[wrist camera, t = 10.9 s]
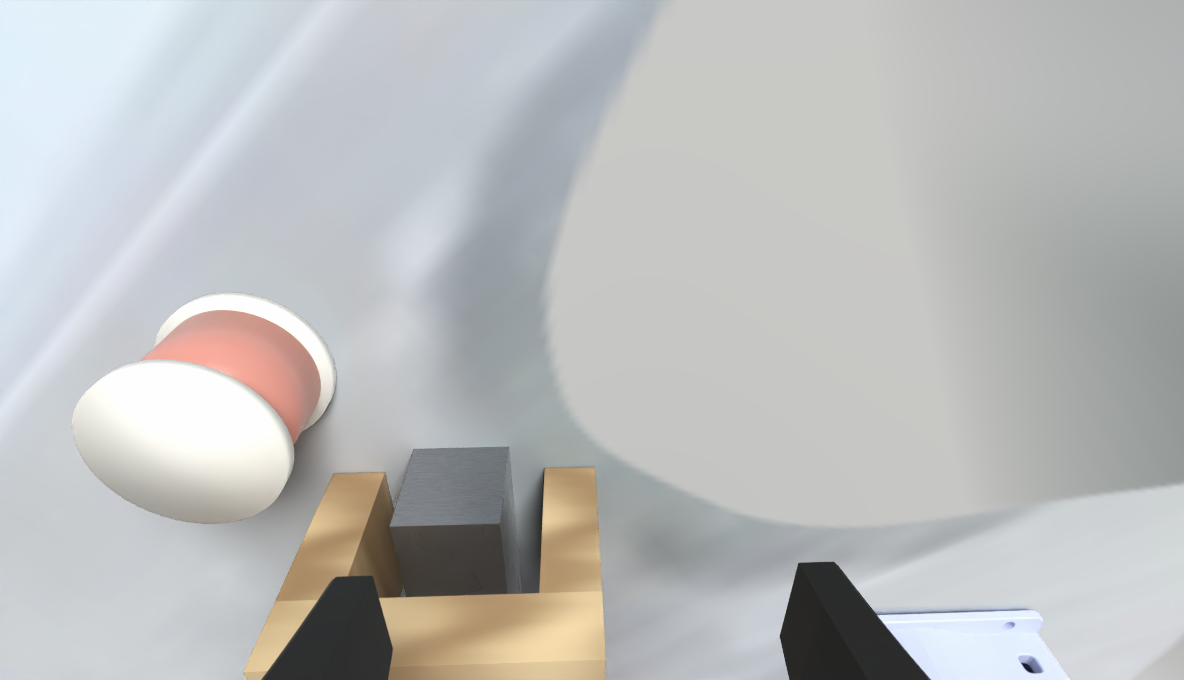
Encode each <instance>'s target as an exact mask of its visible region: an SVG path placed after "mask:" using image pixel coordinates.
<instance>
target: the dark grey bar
mask: <svg viewBox="0 0 1184 680" xmlns="http://www.w3.org/2000/svg"><path fill="white" fill-rule="evenodd" d="M390 531H391V535H392V539H393V543H394V547H395V551H396V555H397V559H398V564H399V568H400V572H401V576H402V580H403V584H404V588H405V592H406V596H407V597H430V596H462V595H495V594H523V593H522V583H521V572H520V561H519V550H518V540H517V529H516V518H515V507H514V497H513V486H512V475H511V464H510V454H509V447H478V448H437V449H414V450H413V453H412V456H411V459H410V463H409V466H408V469H407V472H406V475H405V479H404V482H403V485H402V488H401V491H400V495H399V498H398V501H397V504H396V507H395V511H394V514H393V517H392V520H391V523H390Z"/></svg>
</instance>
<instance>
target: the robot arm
mask: <svg viewBox="0 0 1184 680" xmlns="http://www.w3.org/2000/svg"><path fill="white" fill-rule="evenodd" d="M1042 624H1043V619H1042V617H1041V616H1040V615H1039V613H1038V612H1036V611H1034V610H1018V611H987V612H956V613H925V614H894V615H877V614H876V613H875V612H874V611H873V609H872V608H871V607H870V606H869V604H868V603H867V602H866V601H865V599H864V598H863V597H862V595H861V594H860V593H859V592H858V590H857V589H856V588H855V587H854V585H853V584H852V583H851V581H850V580H849V579H848V578H847V576H846V575H845V574H844V572H843V571H842V570H841V569H840V567H839V566H838V565H837V564H836V563H835V562H811V563H798V567H797V571H796V575H795V579H794V583H793V587H792V591H791V594H790V598H789V602H788V606H787V610H786V614H785V618H784V622H783V626H782V630H781V633H780V639H781V644H782V648H783V653H784V657H785V662H786V666H787V671H788V675H789V679H790V680H1070V679H1069V677H1068V676H1067V674H1066V673H1065V671H1064V670H1063V669H1062V667H1061V666H1060V664H1059V663H1058V661H1057V660H1056V659H1055V657H1054V656H1053V654H1052V653H1051V652H1050V650H1049V649H1048V647H1047V646H1046V644H1045V643H1044V642H1043V640H1042V639H1041V637H1040V636H1039V634H1038V631H1039V629H1040V628H1041V626H1042ZM392 653H393V647H392V643H391V640H390V636H389V632H388V629H387V625H386V622H385V618H384V614H383V611H382V607H381V604H380V600H379V597H378V593H377V589H376V586H375V582H374V579H373V576H341V577H335V578H334V579H333V580H332V581H331V582H330V583H329V585H328V586H327V587H326V589H325V590H324V592H323V593H322V595H321V596H320V598H319V599H318V601H317V602H316V604H315V605H314V607H313V608H312V609H311V611H310V612H309V614H308V615H307V617H306V618H305V620H304V621H303V623H302V624H301V625H300V627H299V628H298V630H297V631H296V632H295V634H294V635H293V637H292V638H291V640H290V641H289V642H288V644H287V645H286V646H285V648H284V649H283V651H282V652H281V653H280V655H279V656H278V658H277V659H276V660H275V662H274V663H273V665H272V666H271V667H270V669H269V670H268V671H267V673H266V674H265V675H264V677H263V678H262V679H261V680H388V677H389V671H390V665H391V659H392Z"/></svg>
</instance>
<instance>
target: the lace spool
mask: <svg viewBox="0 0 1184 680" xmlns="http://www.w3.org/2000/svg"><path fill="white" fill-rule="evenodd" d="M335 386H336V369H335V363H334V360H333V358H332V355H331V353H330V351H329V349H328V347H327V345H326V343H325V342H324V340H323V339H322V337H321V336H320V335H319V334H318V333H317V332H316V330H315V329H314V328H313V327H312V326H311V325H310V324H309V323H307V322H306V321H305V320H304V319H303V318H301V317H300V316H299V315H297V314H296V313H294V312H293V311H291V310H289V309H288V308H286V307H284V306H282V305H280V304H278V303H276V302H274V301H271V300H268V299H265V298H263V297H259V296H255V295H251V294H245V293H236V292H222V293H213V294H208V295H204V296H201V297H198V298H195V299H193V300H191V301H189V302H188V303H186V304H184V305H183V306H182V307H181V308H179V309H178V310H177V311H176V312H175V313H174V314H172V315H171V316H170V317H169V318H168V319H167V320H166V321H165V323H164V324H163V325H162V327H161V328H160V330H159V332H158V334H157V337H156V340H155V345H154V348H153V349H152V350H151V351H150V352H149V353H148V354H147V355H146V356H145V357H144V358H143V359H142V360H140V361H138V362H132V363H129V364H126V365H123V366H120V367H118V368H116V369H114V370H112V371H110V372H109V373H108V374H106V375H105V376H104V377H102V378H101V379H100V380H99V381H98V382H97V383H95V384H94V385H93V386H92V387H91V388H90V389H89V390H88V391H87V392H86V393H85V394H84V395H83V396H82V397H81V398H80V400H79V402H78V404H77V405H76V407H75V411H74V414H73V419H72V432H73V438H74V441H75V444H76V447H77V449H78V451H79V454H80V456H81V457H82V459H83V460H84V462H85V463H86V465H87V466H88V468H89V469H90V470H91V471H92V472H93V474H94V475H95V476H96V477H97V478H98V479H99V480H100V481H101V482H102V483H103V484H105V485H106V486H107V487H108V488H110V489H111V490H112V491H113V492H115V493H116V494H118V495H119V496H121V497H122V498H124V499H125V500H127V501H129V502H131V503H133V504H135V505H136V506H138V507H141V508H143V509H145V510H147V511H150V512H152V513H155V514H158V515H161V516H164V517H168V518H171V519H175V520H180V521H185V522H192V523H202V524H218V523H228V522H234V521H239V520H242V519H246V518H249V517H251V516H254V515H256V514H258V513H260V512H261V511H263V510H265V509H266V508H267V507H269V506H270V505H271V504H272V503H273V502H274V501H275V500H276V499H277V498H278V496H279V495H280V493H281V491H282V490H283V488H284V486H285V484H286V482H287V480H288V478H289V477H290V475H291V472H292V469H293V465H294V447H293V446H294V444H295V442H296V440H297V439H298V437H299V435H300V433H301V432H302V431H304V430H305V429H307V428H309V427H310V426H312V425H313V424H314V423H315V422H316V421H317V420H318V419H319V418H320V417H321V416H322V415H323V413H324V411H325V410H326V408H327V406H328V404H329V402H330V400H331V399H332V397H333V394H334V391H335Z"/></svg>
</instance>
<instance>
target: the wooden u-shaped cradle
mask: <svg viewBox="0 0 1184 680" xmlns="http://www.w3.org/2000/svg"><path fill="white" fill-rule="evenodd" d="M393 514H394V510H393V506H392V501H391V497H390V493H389V488H388V484H387V480H386V476H385V472H379V473H339V474H333V476H332V478H331V480H330V482H329V484H328V487H327V489H326V491H325V493H324V495H323V497H322V500H321V502H320V504H319V506H318V508H317V511H316V513H315V515H314V517H313V519H312V522H311V524H310V526H309V528H308V530H307V533H306V535H305V537H304V539H303V541H302V544H301V546H300V548H299V550H298V552H297V555H296V557H295V559H294V561H293V563H292V566H291V568H290V570H289V572H288V574H287V577H286V579H285V581H284V583H283V585H282V588H281V590H280V592H279V594H278V596H277V599H276V601H275V603H274V605H273V607H272V609H271V612H270V614H269V616H268V618H267V620H266V623H265V625H264V627H263V629H262V631H261V634H260V636H259V638H258V640H257V642H256V645H255V647H254V649H253V651H252V653H251V656H250V658H249V660H248V662H247V664H246V667H245V669H244V671H243V673H244V675H245V677H246V679H247V680H261V679H262V678H263V677H264V675H265V674H266V673H267V671H268V670H269V669H270V667H271V666H272V665H273V663H274V662H275V660H276V659H277V658H278V656H279V655H280V653H281V652H282V651H283V649H284V648H285V646H286V645H287V644H288V642H289V641H290V640H291V638H292V637H293V635H294V634H295V632H296V631H297V630H298V628H299V627H300V625H301V624H302V623H303V621H304V620H305V618H306V617H307V615H308V614H309V612H310V611H311V609H312V608H313V607H314V605H315V604H316V602H317V601H318V599H319V598H320V596H321V595H322V593H323V592H324V590H325V589H326V587H327V586H328V585H329V583H330V582H331V581H332V580H333V579H334V578H335V577H341V576H373V579H374V582H375V586H376V589H377V593H378V597H379V600H380V604H381V607H382V611H383V614H384V618H385V622H386V625H387V629H388V632H389V636H390V640H391V643H392V647H393V653H392V659H391V665H390V671H389V677H388V680H606V651H605V633H604V616H603V598H602V580H601V563H600V545H599V527H598V510H597V492H596V474H595V467H579V468H545V473H544V496H543V520H542V543H541V566H540V589H539V593H527V594H495V595H462V596H430V597H400V594H401V591H402V587H403V580H402V576H401V572H400V568H399V564H398V559H397V555H396V551H395V547H394V543H393V539H392V535H391V531H390V523H391V520H392V517H393Z"/></svg>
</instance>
